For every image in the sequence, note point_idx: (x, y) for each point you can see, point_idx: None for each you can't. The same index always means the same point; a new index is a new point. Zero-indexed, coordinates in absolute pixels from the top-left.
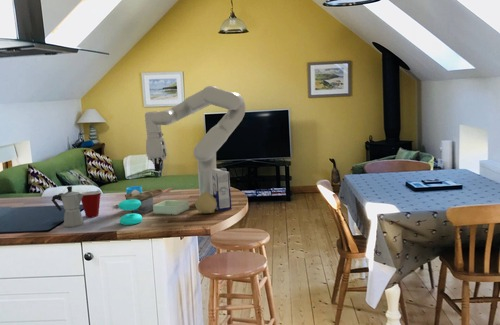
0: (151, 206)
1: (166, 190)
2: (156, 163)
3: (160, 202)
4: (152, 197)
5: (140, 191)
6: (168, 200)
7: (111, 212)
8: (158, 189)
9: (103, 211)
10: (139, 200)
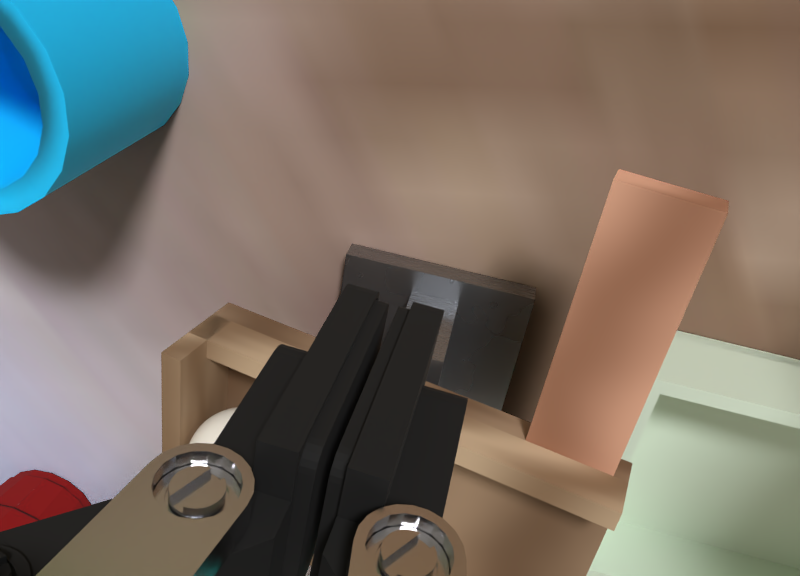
0: (455, 343)
1: (656, 372)
2: (281, 570)
3: None
4: (443, 360)
5: (100, 106)
6: (694, 401)
7: (127, 427)
8: (566, 509)
9: (28, 389)
10: (162, 107)
